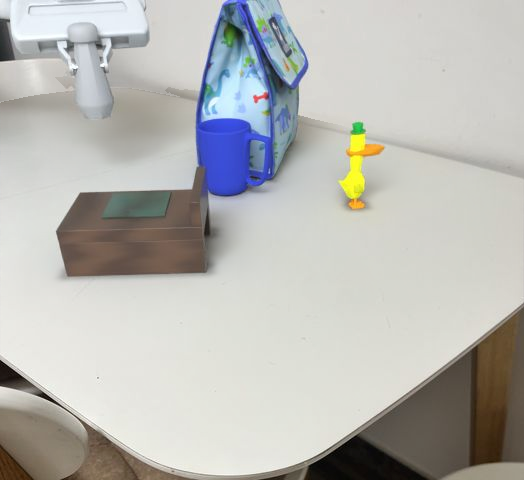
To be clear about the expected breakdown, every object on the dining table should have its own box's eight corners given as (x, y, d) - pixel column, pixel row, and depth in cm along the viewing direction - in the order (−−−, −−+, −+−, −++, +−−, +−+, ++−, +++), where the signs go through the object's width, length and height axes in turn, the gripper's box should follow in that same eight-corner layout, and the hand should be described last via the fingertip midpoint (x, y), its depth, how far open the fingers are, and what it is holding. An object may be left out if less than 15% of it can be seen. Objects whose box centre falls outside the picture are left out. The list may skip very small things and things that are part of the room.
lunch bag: (290, 182, 93) (292, -4, 78) (193, 177, 96) (176, -4, 80) (309, 141, 110) (313, -18, 95) (226, 138, 113) (217, -17, 98)
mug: (257, 207, 85) (256, 139, 79) (191, 194, 90) (185, 129, 84) (283, 189, 91) (283, 124, 85) (219, 177, 96) (215, 115, 90)
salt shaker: (90, 123, 87) (71, 27, 80) (72, 116, 91) (53, 23, 83) (123, 116, 90) (108, 22, 83) (104, 109, 94) (89, 19, 86)
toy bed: (67, 276, 70) (49, 206, 64) (89, 233, 79) (74, 169, 74) (206, 272, 70) (199, 202, 64) (211, 230, 79) (205, 166, 74)
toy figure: (373, 198, 87) (381, 116, 80) (383, 207, 84) (392, 123, 77) (331, 204, 86) (336, 121, 78) (341, 213, 83) (346, 128, 76)
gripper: (143, 2, 93) (158, 79, 91) (11, 9, 89) (24, 90, 87) (141, -29, 87) (157, 53, 85) (0, -23, 83) (14, 63, 81)
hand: (89, 72), depth 86 cm, fingers closed on salt shaker, 3 cm apart
